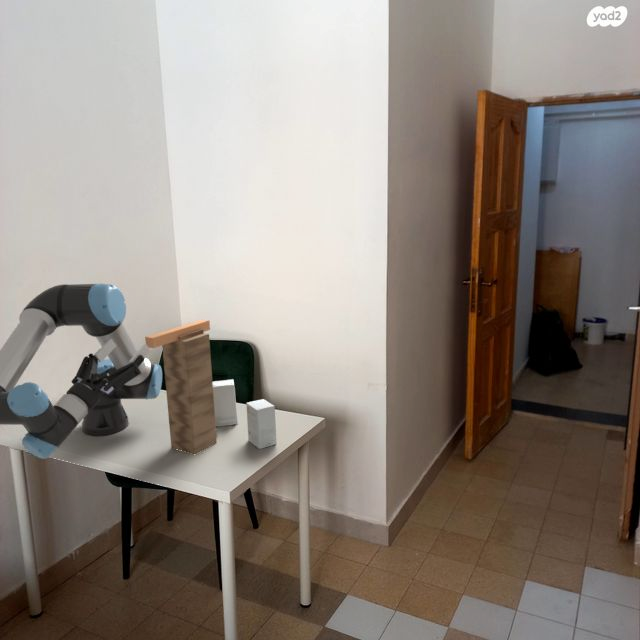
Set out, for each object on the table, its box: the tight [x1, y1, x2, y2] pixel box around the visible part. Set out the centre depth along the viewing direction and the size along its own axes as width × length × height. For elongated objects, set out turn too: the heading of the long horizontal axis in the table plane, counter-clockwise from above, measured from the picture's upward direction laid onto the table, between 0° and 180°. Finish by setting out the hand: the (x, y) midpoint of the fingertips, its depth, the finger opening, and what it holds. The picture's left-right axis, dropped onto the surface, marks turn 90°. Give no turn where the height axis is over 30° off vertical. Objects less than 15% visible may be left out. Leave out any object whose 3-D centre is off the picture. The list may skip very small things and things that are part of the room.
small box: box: [246, 398, 277, 450], centre depth 189 cm, size 8×6×13 cm
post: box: [161, 329, 218, 455], centre depth 186 cm, size 10×10×37 cm
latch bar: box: [144, 319, 211, 349], centre depth 179 cm, size 3×24×3 cm, turn 149°
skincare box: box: [212, 378, 239, 427], centre depth 206 cm, size 8×6×15 cm
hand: (130, 344), depth 163 cm, fingers open, 13 cm apart
